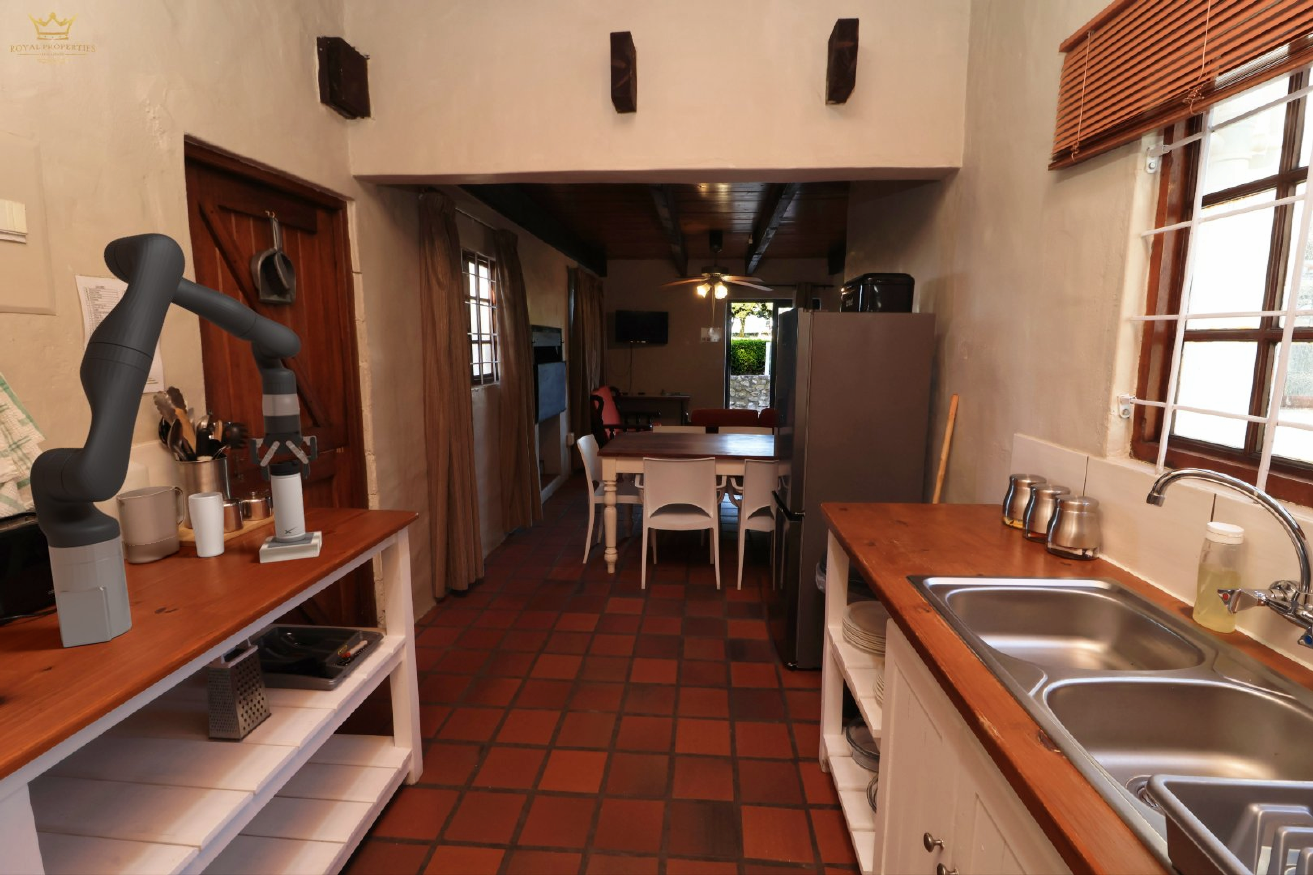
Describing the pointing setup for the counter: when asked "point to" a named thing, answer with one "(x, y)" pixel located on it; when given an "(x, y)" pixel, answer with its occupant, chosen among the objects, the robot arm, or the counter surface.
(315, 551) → the base
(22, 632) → the counter surface
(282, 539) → the travel mug
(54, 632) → the counter surface
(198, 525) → the white tall cylinder
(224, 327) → the robot arm
